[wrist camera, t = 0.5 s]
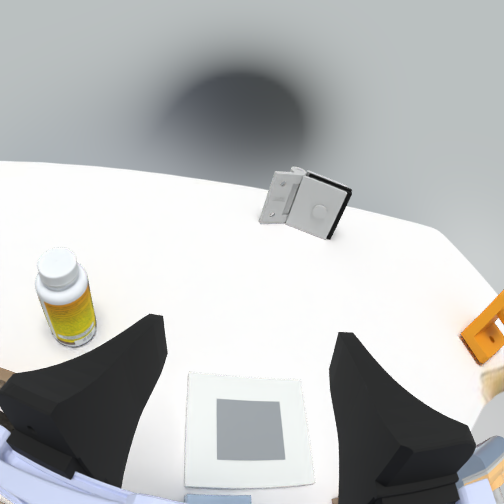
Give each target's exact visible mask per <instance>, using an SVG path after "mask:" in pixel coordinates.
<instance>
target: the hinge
mask: <svg viewBox="0 0 504 504" xmlns="http://www.w3.org/2000/svg"><path fill="white" fill-rule="evenodd" d="M305 175H306V176H305ZM282 182H285V184H284V185H282V186H281V183H282ZM351 191H352V190H351V189H349V188H348V186H347V185H344V184H342V183H339V182H337V181H334V180H332V179H329V178H327V177H324V176H322V175H319V174H317V173H314V172H311V171H309V170H308V171H307V172H306V171H305V170H303V169H301V168H299V167H291V171H290V172H278V171H275V173H274V176H273V179H272V182H271V185H270V188H269V191H268V194H267V198H266V201H265V204H264V207H263V210H262V213H261V216H260V219H259V222H260V224H279V223H286V224H285V225H288V226H291V227H293V228H296V229H298V230H301V231H304V232H306V233H309V234H311V235H314V236H317V237H319V238H322V239H324V240H326V238H327V239H329V240H330V239H331V237H332V235H333V233H334V231H335V229H336V227H337V224H338V222H339V220H340V218H341V216H342V214H343V212H344V210H345V208H346V206H347V203H348V201H349V199H350V197H351V195H352V192H351ZM271 213H274V215H272V216H270V214H271Z"/></svg>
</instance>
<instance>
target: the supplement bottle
mask: <svg viewBox="0 0 504 504" xmlns="http://www.w3.org/2000/svg"><path fill="white" fill-rule="evenodd" d="M37 267H38V271H39V273H38V274H37V277H36V280H35V288H36V292H37V295H38V298H39V301H40V303H41V306H42V309H43V312H44V314H45V317H46V319H47V322H48V324H49V327H50V329H51V331H52V334H53V335H54V337H55V338H56V339H57V340H58V341H59V342H60V343H62V344H64V345H67V346H79V345H82V344H84V343H86V342H88V341H89V340H90V339H91V338H92V336H93V335H94V333H95V330H96V318H95V313H94V308H93V303H92V298H91V293H90V287H89V281H88V276H87V273H86V271H85V269H84V268H83V266H82V265H81V264H79V263H78V262H77V258H76V255H75V254H74V252H73V251H71V250H70V249H67V248H63V247H57V248H52V249H50V250H48V251H46V252H45V253H43V254H42V255H41V257H40V258H39V260H38V264H37Z"/></svg>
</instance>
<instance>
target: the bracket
mask: <svg viewBox="0 0 504 504" xmlns="http://www.w3.org/2000/svg"><path fill="white" fill-rule="evenodd" d="M498 318H499V319H500V320H501V322H502V323H503V324H504V290H503V291H502V292H501V293H500V294H499V295H498V296H497V297H496V298H495V299H494V300H493V302H492V303H491V304H490V305H489V306H488V307H487V308H486V309H485V310H484V311H483V312H482V313H481V314H480V315H479V316H478V317H477V318H476V319H475V320H474V321H473V322H472V323H471V324H470V325H469V326H468V327H467V328H466V329H465V330H464V331H463V332H462V333H461V335H462V337H463V338H464V340H465V341H466V343H467V344H468V345H469V347H470V348H471V350H472V351H473V353H474V354H475V356H476V357H477V359H478V360H479V362H480V363H482V364H484V363H485V362H486V361H487V360H488V359H489V358H491V357H492V356H493V355H494V354H495V353H496V352H497V351H498V350H499V349H500V348H501V347H502V346H503V345H504V336H503V334H502V333H501V331H500V330H499V328H498V327H497V326H496V324H495V323H494V322H495V321H496V320H497V319H498Z"/></svg>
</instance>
